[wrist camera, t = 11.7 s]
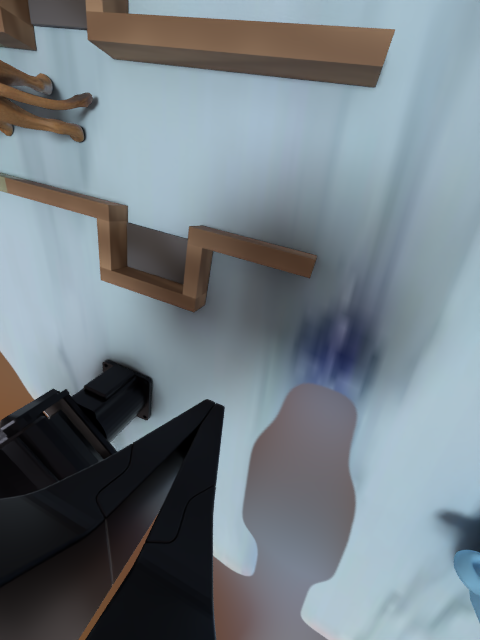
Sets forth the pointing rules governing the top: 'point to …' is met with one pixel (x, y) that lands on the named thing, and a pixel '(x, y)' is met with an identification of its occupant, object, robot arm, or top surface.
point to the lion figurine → (35, 104)
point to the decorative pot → (470, 574)
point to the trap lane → (198, 52)
